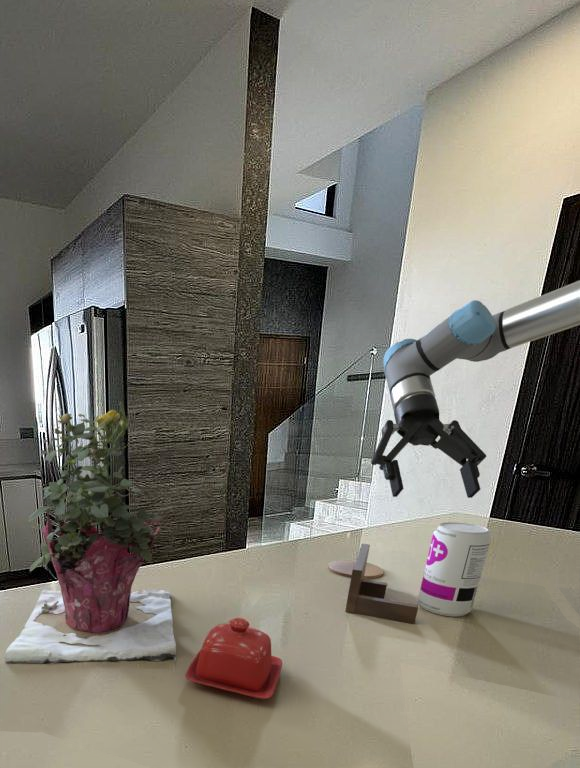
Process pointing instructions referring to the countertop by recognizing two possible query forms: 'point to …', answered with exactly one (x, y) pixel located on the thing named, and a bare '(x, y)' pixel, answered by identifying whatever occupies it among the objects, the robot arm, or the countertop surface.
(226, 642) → the butter dish
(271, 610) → the countertop surface
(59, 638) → the potted flower
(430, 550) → the supplement can
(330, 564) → the cork coaster
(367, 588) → the dark wooden l-bracket
